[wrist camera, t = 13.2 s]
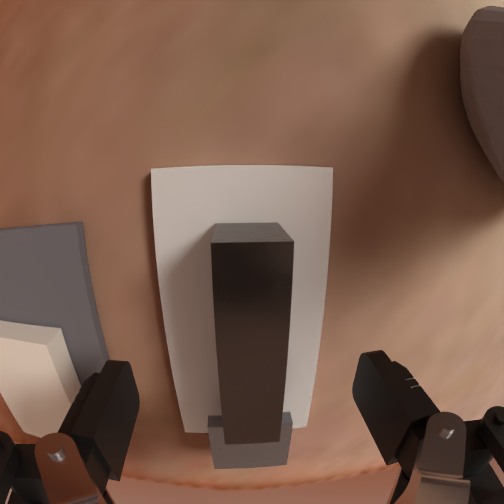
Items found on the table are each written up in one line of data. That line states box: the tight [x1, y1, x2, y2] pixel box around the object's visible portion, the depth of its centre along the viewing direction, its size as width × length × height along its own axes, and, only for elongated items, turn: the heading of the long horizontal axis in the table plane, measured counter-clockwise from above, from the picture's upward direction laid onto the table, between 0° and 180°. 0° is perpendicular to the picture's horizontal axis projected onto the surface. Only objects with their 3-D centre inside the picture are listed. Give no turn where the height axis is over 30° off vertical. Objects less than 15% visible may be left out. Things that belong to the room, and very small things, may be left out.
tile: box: [0, 320, 81, 438], centre depth 12 cm, size 2×6×8 cm
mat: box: [0, 222, 110, 386], centre depth 12 cm, size 12×10×1 cm
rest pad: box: [151, 165, 333, 433], centre depth 13 cm, size 14×7×1 cm, turn 0°
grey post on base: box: [207, 222, 294, 469], centre depth 12 cm, size 13×4×3 cm, turn 0°
